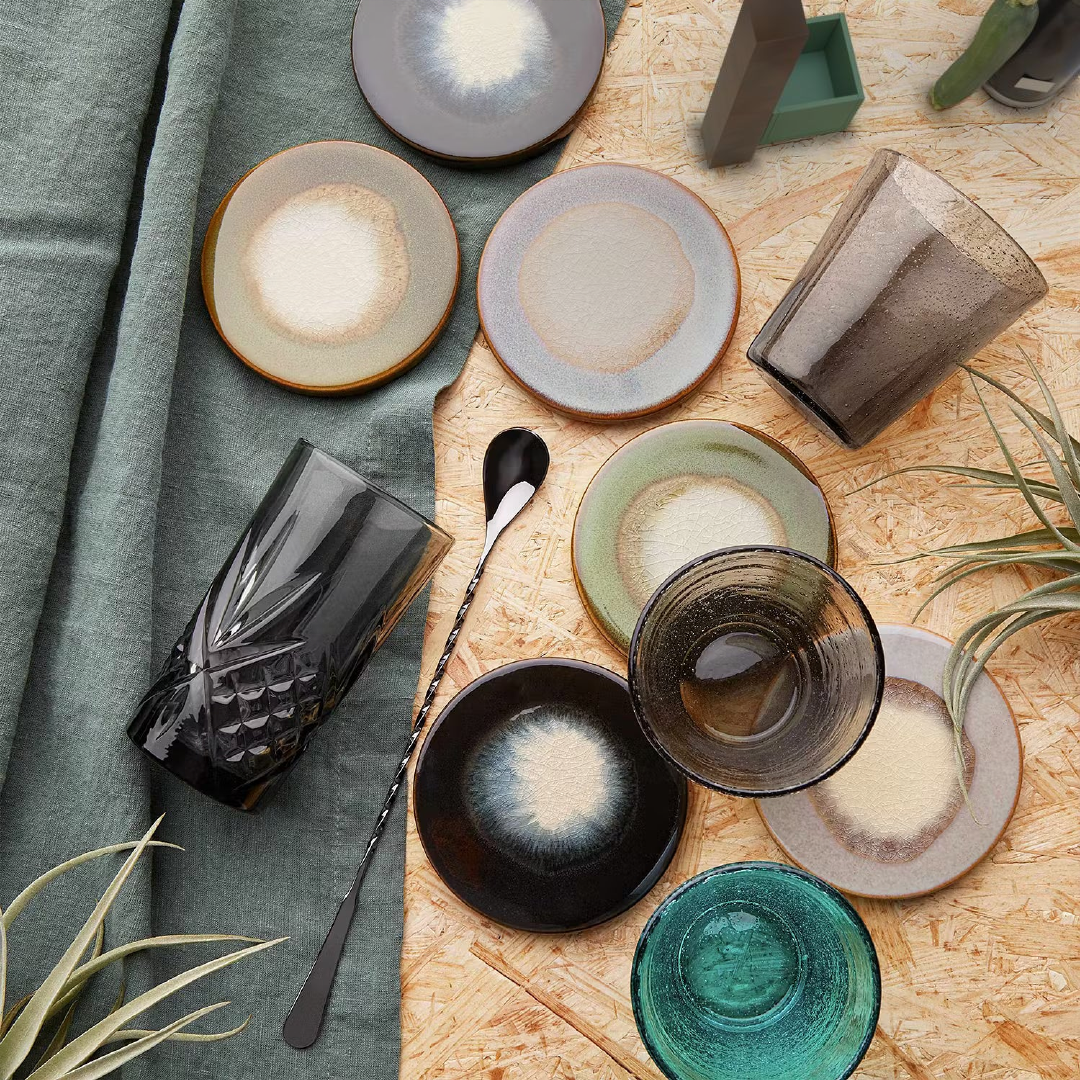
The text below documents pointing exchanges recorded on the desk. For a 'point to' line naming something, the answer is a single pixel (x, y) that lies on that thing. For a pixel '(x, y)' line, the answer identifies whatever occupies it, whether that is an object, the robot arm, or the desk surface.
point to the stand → (752, 78)
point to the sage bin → (819, 84)
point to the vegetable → (986, 50)
